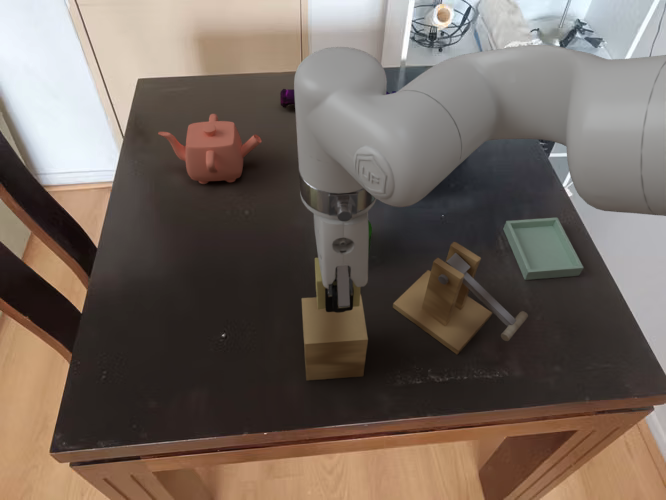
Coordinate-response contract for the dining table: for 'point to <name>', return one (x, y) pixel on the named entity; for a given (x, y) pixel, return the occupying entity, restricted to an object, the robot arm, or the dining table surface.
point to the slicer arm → (488, 299)
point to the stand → (333, 341)
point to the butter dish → (542, 248)
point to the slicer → (445, 302)
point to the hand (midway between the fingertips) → (337, 293)
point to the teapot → (213, 150)
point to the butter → (321, 288)
